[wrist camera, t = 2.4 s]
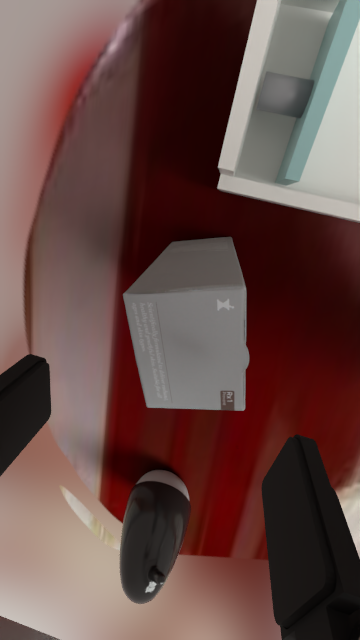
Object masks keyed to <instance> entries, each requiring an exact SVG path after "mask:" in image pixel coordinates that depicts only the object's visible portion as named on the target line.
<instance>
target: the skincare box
mask: <svg viewBox="0 0 360 640" xmlns="http://www.w3.org/2000/svg"><path fill="white" fill-rule="evenodd" d="M246 295H247V291H246V286H245V282H244V279H243V275H242V272H241V268H240V265H239V261H238V258H237V254H236V251H235V248H234V244H233V240H232V237H221V238H210V239H199V240H187V241H177V242H172V243H171V244H170V245H169V246H168V247H167V248H166V249H165V250H164V251H163V252H162V253H161V254H160V256H159V257H158V258H157V259H156V260H155V261H154V262H153V263H152V264H151V265H150V266H149V267H148V268H147V270H146V271H145V272H144V273H143V274H142V275H141V276H140V277H139V278H138V279H137V280H136V281H135V282H134V283H133V285H132V286H131V287H130V288H129V289H128V290H127V291H126V292H125V293H124V294H123V298H124V303H125V307H126V313H127V318H128V323H129V328H130V333H131V338H132V342H133V347H134V352H135V357H136V362H137V366H138V370H139V375H140V379H141V384H142V388H143V392H144V397H145V401H146V406H147V407H151V408H183V409H211V410H237V411H244V409H245V369H246V368H247V366H248V363H249V352H248V349H247V347H246Z"/></svg>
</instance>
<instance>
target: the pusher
mask: <svg viewBox="0 0 360 640" xmlns="http://www.w3.org/2000/svg"><path fill="white" fill-rule="evenodd" d="M359 20H360V0H340V1H339V3H338V5H337V7H336V8H335V10H334V12H333V14H332V16H331V18H330V20H329V22H328V25H327V28H326V31H325V34H324V37H323V40H322V43H321V46H320V49H319V52H318V55H317V58H316V61H315V64H314V67H313V70H312V73H311V76H310V79H304V78H299V77H293V76H288V75H283V74H277V73H272V72H267V71H266V75H265V79H264V82H263V86H262V90H261V93H260V97H259V101H258V105H257V108H256V110H261V111H266V112H270V113H275V114H280V115H285V116H290V117H295V118H296V121H295V124H294V127H293V130H292V133H291V136H290V139H289V142H288V145H287V148H286V151H285V154H284V157H283V160H282V163H281V166H280V169H279V172H278V175H277V178H276V181H275V183H277V184H281V185H286V186H287V185H290V184H293V183H296V182H299V181H300V178H301V175H302V173H303V170H304V167H305V165H306V162H307V159H308V157H309V154H310V151H311V149H312V146H313V143H314V141H315V138H316V135H317V132H318V130H319V127H320V124H321V122H322V119H323V116H324V114H325V111H326V108H327V106H328V103H329V100H330V98H331V95H332V92H333V89H334V87H335V84H336V81H337V79H338V76H339V73H340V71H341V68H342V65H343V63H344V60H345V57H346V55H347V52H348V49H349V46H350V44H351V41H352V38H353V36H354V33H355V30H356V28H357V25H358V22H359Z"/></svg>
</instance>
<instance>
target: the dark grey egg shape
mask: <svg viewBox="0 0 360 640" xmlns="http://www.w3.org/2000/svg"><path fill="white" fill-rule="evenodd" d="M190 513H191V505H190V502H189V495H188V491H187V488H186V486H185V484H184V483H183V481H182V480H181V479H180V478H179V477H178V476H176V475H175V474H173V473H171V472H169V471H165V470H153V471H150V472H148V473H146V474H145V475H143V476H142V477H141V478H140V479H139V481H138V482H137V484H136V485H135V486H134V487H133V488H132V489H131V492H130V495H129V498H128V502H127V506H126V511H125V516H124V521H123V528H122V536H121V546H120V576H121V583H122V588H123V591H124V592H125V594H126V596H127V597H128V598H129V599H130V600H131V601H133V602H134V603H138V604H144V603H147V602H149V601H151V600H152V599H153V598H154V597H155V596H156V595H157V594H158V593H159V591H160V590H161V589H162V587H163V585H164V584H165V582H166V580H167V579H168V577H169V575H170V573H171V571H172V568H173V566H174V564H175V561H176V559H177V556H178V554H179V551H180V549H181V546H182V543H183V540H184V537H185V534H186V530H187V526H188V523H189V518H190Z"/></svg>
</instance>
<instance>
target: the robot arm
mask: <svg viewBox="0 0 360 640" xmlns="http://www.w3.org/2000/svg"><path fill="white" fill-rule="evenodd" d="M50 415H51V395H50V371H49V364H48V363H47V362H46V359H45V358H42V357H38V356H35V355H32V354H29V355H27V356H25V357H24V358H23V359H21V360H20V361H18V362H17V363H16V364H15V365H13V366H12V367H10V368H9V369H8V370H7V371H5V372H4V373H2V374H1V375H0V476H1V475H2V474H3V473H4V471H5V470H6V469H7V468H8V467H9V465H10V464H11V463H12V462H13V461H14V460H15V458H16V457H17V456H18V455H19V454H20V452H21V451H22V450H23V449H24V448H25V447H26V445H27V444H28V443H29V442H30V441H31V440H32V438H33V437H34V436H35V435H36V434H37V432H38V431H39V430H40V429H41V428H42V426H43V425H44V424H45V423H46V422H47V421H48V419H49V417H50ZM262 498H263V508H264V518H265V529H266V539H267V549H268V559H269V569H270V580H271V590H272V600H273V610H274V617H275V621H276V623H277V624H278V625H280V627H281V636H282V640H360V559H359V556H358V553H357V550H356V547H355V545H354V542H353V539H352V536H351V533H350V530H349V528H348V525H347V522H346V519H345V516H344V513H343V511H342V508H341V505H340V502H339V499H338V497H337V494H336V492H335V491H334V489H333V488H332V487H331V485H330V482H329V479H328V477H327V474H326V471H325V468H324V465H323V462H322V459H321V456H320V453H319V450H318V447H317V444H316V442H315V441H314V440H313V439H310V438H307V437H304V436H300V435H295V436H294V437H293V438H292V437H289V438H288V440H287V441H286V443H285V445H284V446H283V448H282V450H281V451H280V453H279V455H278V456H277V458H276V460H275V461H274V463H273V465H272V466H271V468H270V470H269V471H268V473H267V475H266V476H265V478H264V480H263V483H262ZM0 640H59V639H57V638H55V637H52V636H49V635H47V634H45V633H42V632H40V631H37V630H34V629H32V628H29V627H27V626H24V625H22V624H19V623H17V622H14V621H12V620H9V619H7V618H4V617H1V616H0Z"/></svg>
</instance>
